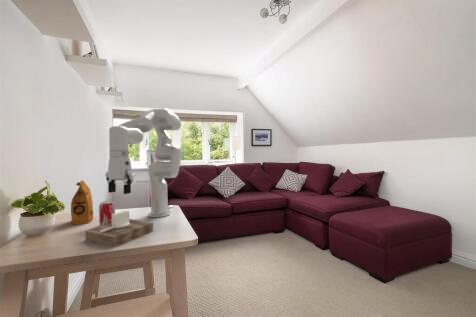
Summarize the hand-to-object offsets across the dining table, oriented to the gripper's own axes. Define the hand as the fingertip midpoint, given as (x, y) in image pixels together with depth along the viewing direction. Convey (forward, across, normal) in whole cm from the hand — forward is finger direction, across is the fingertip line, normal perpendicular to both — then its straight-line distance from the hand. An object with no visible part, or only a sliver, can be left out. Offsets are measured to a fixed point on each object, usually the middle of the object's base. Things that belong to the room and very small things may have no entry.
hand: (119, 192), depth 102 cm
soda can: (+19, +19, -8) cm, 28 cm away
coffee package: (+19, +38, -7) cm, 43 cm away
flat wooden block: (+19, 0, -1) cm, 19 cm away
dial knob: (+15, 0, +2) cm, 15 cm away
